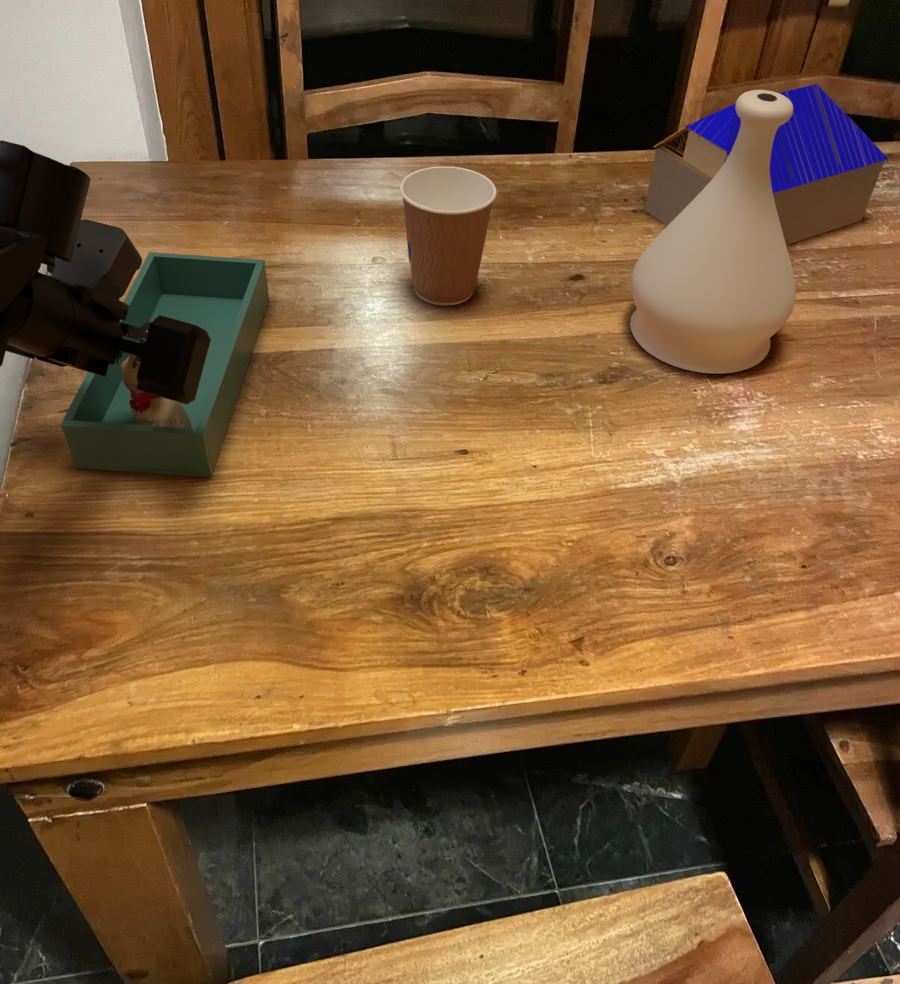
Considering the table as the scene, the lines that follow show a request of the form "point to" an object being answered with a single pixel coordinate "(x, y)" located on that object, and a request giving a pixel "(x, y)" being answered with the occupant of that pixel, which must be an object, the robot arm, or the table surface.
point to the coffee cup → (446, 230)
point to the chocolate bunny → (151, 402)
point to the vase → (721, 260)
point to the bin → (233, 331)
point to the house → (777, 165)
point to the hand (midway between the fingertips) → (151, 360)
